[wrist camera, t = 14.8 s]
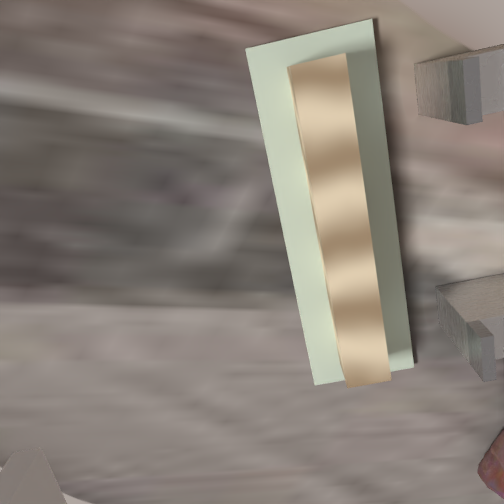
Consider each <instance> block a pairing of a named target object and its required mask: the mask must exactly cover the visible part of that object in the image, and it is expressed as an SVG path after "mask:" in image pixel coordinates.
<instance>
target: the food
mask: <svg viewBox="0 0 504 504" xmlns="http://www.w3.org/2000/svg"><path fill="white" fill-rule="evenodd" d="M478 474H479V476H480V478H481V479H482V480H483V482H484V483H485V484H486V486H487V487H488V488H489V489H491V490H492V491H494V492H496V493H497V494H498V495H499V496H500V497H501V498H503V499H504V429H503V431H502V432H501V433H500V434H499V435H498V437H497V438H496V440H495V441H494V442H493V444H492V445H491V448H490V449H489V450H488V451H487V453H486V454H485V456H484V458H483V459H482V461H481V462H480V463H479V467H478Z"/></svg>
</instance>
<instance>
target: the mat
mask: <svg viewBox="0 0 504 504" xmlns="http://www.w3.org/2000/svg"><path fill="white" fill-rule="evenodd" d="M245 50H246V55H247V59H248V64H249V69H250V74H251V79H252V84H253V88H254V93H255V98H256V103H257V108H258V113H259V118H260V122H261V127H262V132H263V137H264V142H265V147H266V152H267V156H268V161H269V166H270V171H271V176H272V181H273V186H274V190H275V195H276V200H277V205H278V210H279V215H280V219H281V224H282V229H283V234H284V239H285V244H286V249H287V253H288V258H289V263H290V268H291V273H292V278H293V283H294V287H295V292H296V297H297V302H298V307H299V312H300V317H301V321H302V326H303V331H304V336H305V341H306V346H307V350H308V355H309V360H310V365H311V370H312V375H313V380H314V384H315V385H320V384H326V383H331V382H337V381H342V380H345V378H344V375H343V371H342V368H341V365H340V360H339V355H338V349H337V344H336V338H335V333H334V327H333V322H332V316H331V311H330V305H329V300H328V294H327V289H326V283H325V277H324V272H323V266H322V261H321V255H320V250H319V244H318V239H317V233H316V228H315V222H314V217H313V211H312V206H311V200H310V195H309V189H308V184H307V178H306V172H305V167H304V161H303V156H302V150H301V145H300V139H299V134H298V128H297V123H296V117H295V112H294V106H293V101H292V95H291V90H290V84H289V78H288V73H287V67H288V66H292V65H296V64H300V63H304V62H309V61H313V60H317V59H322V58H326V57H330V56H335V55H339V54H343V53H346V60H347V67H348V74H349V81H350V88H351V95H352V102H353V110H354V117H355V124H356V131H357V138H358V145H359V152H360V159H361V167H362V174H363V181H364V188H365V195H366V202H367V209H368V216H369V224H370V231H371V238H372V245H373V252H374V259H375V266H376V273H377V281H378V288H379V295H380V302H381V309H382V316H383V323H384V330H385V337H386V345H387V352H388V359H389V366H390V372H391V371H397V370H402V369H408V368H413V367H414V362H413V354H412V345H411V337H410V329H409V320H408V312H407V304H406V296H405V287H404V279H403V271H402V262H401V254H400V246H399V238H398V229H397V221H396V213H395V205H394V196H393V188H392V180H391V171H390V163H389V155H388V147H387V138H386V130H385V122H384V113H383V105H382V97H381V89H380V80H379V72H378V64H377V56H376V47H375V39H374V31H373V22H372V19H369V20H365V21H360V22H356V23H352V24H348V25H344V26H339V27H335V28H331V29H327V30H323V31H318V32H314V33H310V34H306V35H302V36H297V37H293V38H289V39H285V40H281V41H276V42H272V43H268V44H264V45H260V46H255V47H251V48H247V49H245Z"/></svg>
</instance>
